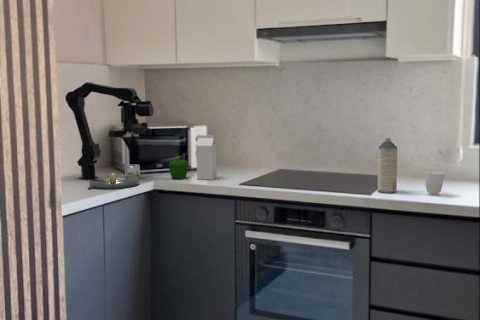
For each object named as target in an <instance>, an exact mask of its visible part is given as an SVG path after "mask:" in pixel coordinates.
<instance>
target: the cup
mask: <svg viewBox="0 0 480 320" xmlns="http://www.w3.org/2000/svg"><path fill="white" fill-rule="evenodd" d="M423 175H424V182H425V183H424V185H425V188H426V192H427V194H426V195H427V196H430V197H439V196H441V194H440V193H441V191H442V188H443V183H444V178H445V172H442V171H433V170H432V171H425V172H423Z"/></svg>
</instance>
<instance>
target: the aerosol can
mask: <svg viewBox="0 0 480 320" xmlns="http://www.w3.org/2000/svg"><path fill="white" fill-rule="evenodd" d="M377 157H378V158H377V193H380V194H386V195H388V194H396V193H397V192H398V191H397V187H398V185H397V184H398V146H396V145H395V143H394V142H392V141H391V137H385V139H384V141H383V142H382V143H381V144H380V145H378V149H377Z"/></svg>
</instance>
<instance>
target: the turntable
mask: <svg viewBox="0 0 480 320" xmlns="http://www.w3.org/2000/svg"><path fill="white" fill-rule="evenodd" d="M137 185H140V179H139V178H138V177H133V176H125V175H117V174H116V172H111V173H109V176H101V177H98V178H93V179H89V188H90V187H93V189H97V190H98V189H99V190H101V189H102V190H103V189H104V190H113V189H114V190H115V189H116V190H117V189H124V188H132V187H135V186H137Z"/></svg>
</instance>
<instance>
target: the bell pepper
mask: <svg viewBox="0 0 480 320" xmlns="http://www.w3.org/2000/svg"><path fill="white" fill-rule="evenodd" d="M188 169H189V163H188V160H185V159H180V156H176V159H173V160H170V161H169V162H168V170H169V174H170V177H171V178H172V179H176V180H182V179H185V178H186V177H187V175H188Z"/></svg>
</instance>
